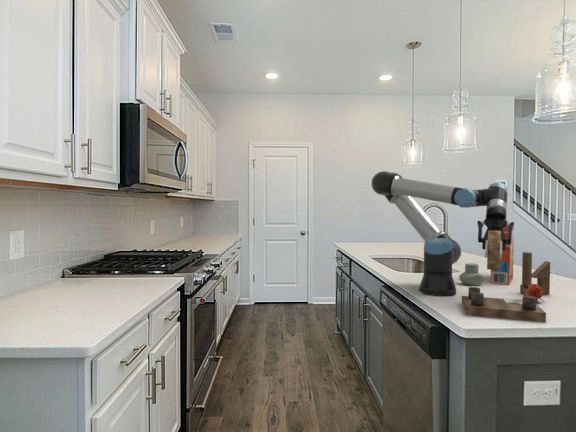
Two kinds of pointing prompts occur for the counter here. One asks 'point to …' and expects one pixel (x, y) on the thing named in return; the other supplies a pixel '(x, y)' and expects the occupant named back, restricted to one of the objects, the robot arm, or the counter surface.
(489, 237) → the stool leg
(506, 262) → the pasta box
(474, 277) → the air freshener
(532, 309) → the wooden board with knobs
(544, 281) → the brown wooden angled piece
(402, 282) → the counter surface
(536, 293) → the pomegranate
